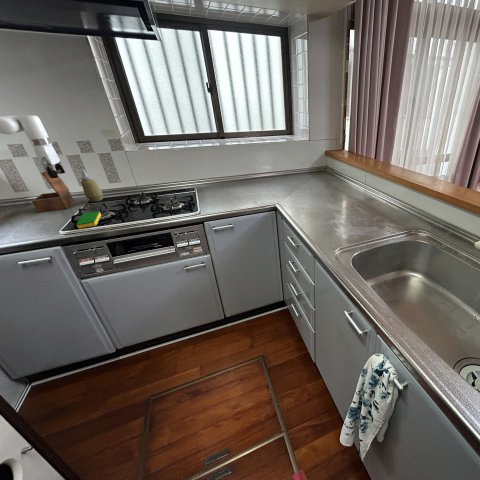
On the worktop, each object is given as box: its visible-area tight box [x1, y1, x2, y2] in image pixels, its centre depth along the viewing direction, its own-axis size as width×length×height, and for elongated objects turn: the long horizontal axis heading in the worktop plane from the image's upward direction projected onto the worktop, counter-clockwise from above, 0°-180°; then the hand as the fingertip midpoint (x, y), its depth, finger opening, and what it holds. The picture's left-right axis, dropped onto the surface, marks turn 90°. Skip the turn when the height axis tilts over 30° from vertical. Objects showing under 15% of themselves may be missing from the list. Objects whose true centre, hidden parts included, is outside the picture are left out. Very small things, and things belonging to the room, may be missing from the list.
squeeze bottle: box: [80, 169, 103, 203], centre depth 154 cm, size 8×8×18 cm
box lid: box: [41, 169, 70, 197], centre depth 145 cm, size 13×12×5 cm
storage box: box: [31, 190, 75, 214], centre depth 149 cm, size 13×12×7 cm
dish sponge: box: [75, 210, 102, 229], centre depth 132 cm, size 7×14×2 cm, turn 27°
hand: (58, 175), depth 144 cm, fingers open, 8 cm apart
